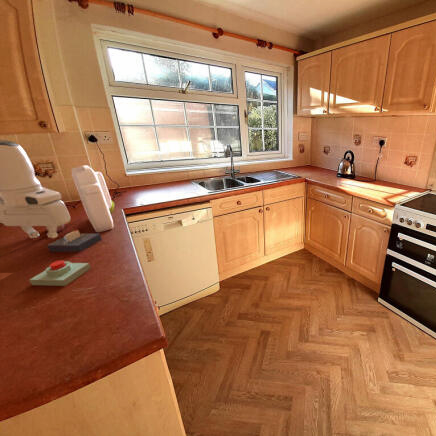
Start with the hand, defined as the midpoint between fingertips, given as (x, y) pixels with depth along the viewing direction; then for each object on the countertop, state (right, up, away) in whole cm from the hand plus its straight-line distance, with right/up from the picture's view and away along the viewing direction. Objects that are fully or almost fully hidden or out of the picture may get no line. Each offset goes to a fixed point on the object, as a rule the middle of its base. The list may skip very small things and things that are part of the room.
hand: (44, 237), depth 78 cm
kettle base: (+1, -14, +6) cm, 15 cm away
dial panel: (-14, -6, +27) cm, 31 cm away
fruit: (-27, +8, +62) cm, 69 cm away
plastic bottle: (-37, 0, +42) cm, 56 cm away
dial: (-14, -3, +26) cm, 30 cm away
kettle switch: (0, -11, +4) cm, 11 cm away
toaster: (-17, +3, +48) cm, 51 cm away
